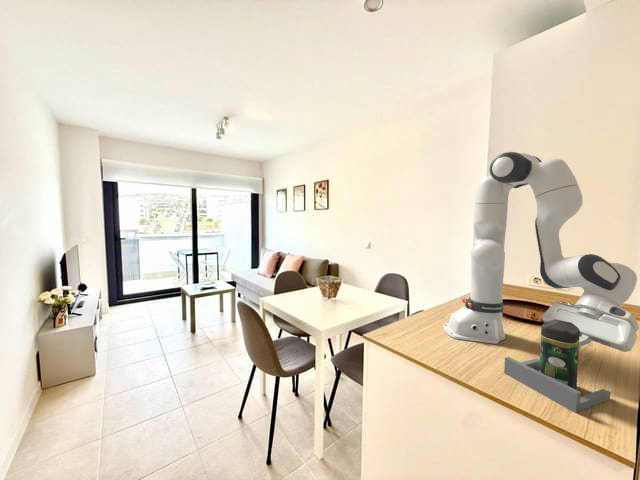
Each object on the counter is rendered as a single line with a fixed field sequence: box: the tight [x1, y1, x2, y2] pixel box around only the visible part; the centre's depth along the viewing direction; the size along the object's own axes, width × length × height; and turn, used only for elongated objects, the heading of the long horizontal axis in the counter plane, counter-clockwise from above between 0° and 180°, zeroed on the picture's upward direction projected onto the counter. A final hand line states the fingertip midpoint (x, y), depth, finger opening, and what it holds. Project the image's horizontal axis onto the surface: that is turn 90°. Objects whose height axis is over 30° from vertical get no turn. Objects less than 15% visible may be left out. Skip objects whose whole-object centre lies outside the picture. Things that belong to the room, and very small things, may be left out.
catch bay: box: [503, 356, 612, 414], centre depth 76 cm, size 14×18×5 cm
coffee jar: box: [538, 319, 581, 390], centre depth 75 cm, size 10×8×19 cm
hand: (571, 346), depth 79 cm, fingers closed
